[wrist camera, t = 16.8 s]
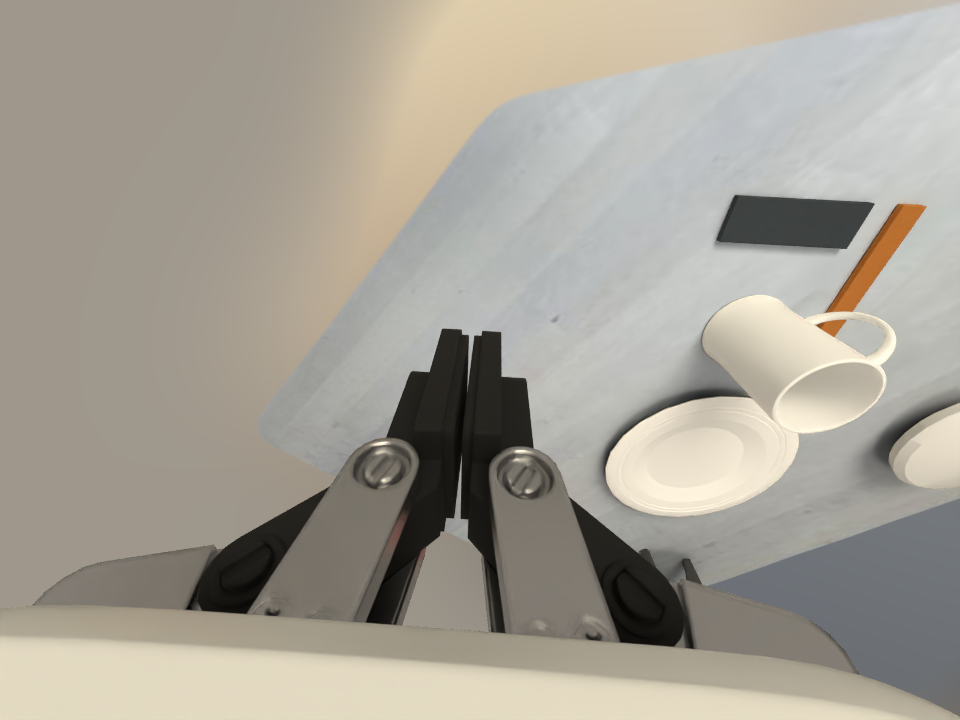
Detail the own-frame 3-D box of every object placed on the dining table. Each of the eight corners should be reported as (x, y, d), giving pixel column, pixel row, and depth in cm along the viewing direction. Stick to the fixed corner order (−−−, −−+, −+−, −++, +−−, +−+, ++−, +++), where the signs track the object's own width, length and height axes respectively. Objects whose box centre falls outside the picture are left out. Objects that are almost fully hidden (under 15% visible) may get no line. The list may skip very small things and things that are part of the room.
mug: (816, 262, 34) (946, 316, 24) (826, 326, 38) (943, 396, 28) (692, 319, 38) (760, 386, 28) (712, 372, 42) (778, 448, 32)
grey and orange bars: (734, 194, 31) (738, 196, 31) (920, 205, 31) (927, 206, 30) (666, 360, 41) (668, 362, 41) (806, 368, 41) (810, 371, 41)
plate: (782, 490, 53) (791, 501, 52) (616, 517, 59) (619, 528, 58) (799, 364, 41) (811, 374, 39) (586, 415, 47) (589, 425, 45)
